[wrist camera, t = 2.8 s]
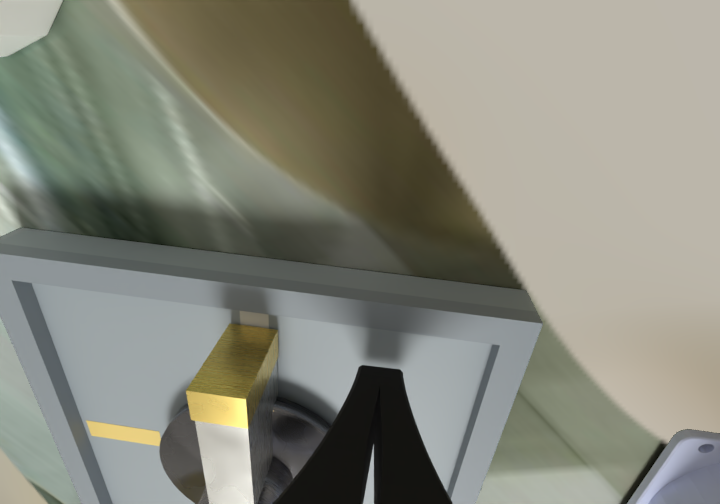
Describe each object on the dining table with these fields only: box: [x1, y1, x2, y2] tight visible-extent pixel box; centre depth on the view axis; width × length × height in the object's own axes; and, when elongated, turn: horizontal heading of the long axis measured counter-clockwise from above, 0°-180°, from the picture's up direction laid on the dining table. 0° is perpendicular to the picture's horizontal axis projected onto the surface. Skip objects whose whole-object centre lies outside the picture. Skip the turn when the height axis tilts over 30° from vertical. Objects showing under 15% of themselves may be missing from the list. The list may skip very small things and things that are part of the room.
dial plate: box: [0, 228, 543, 504], centre depth 17 cm, size 18×18×2 cm
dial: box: [159, 323, 331, 504], centre depth 15 cm, size 11×8×3 cm
